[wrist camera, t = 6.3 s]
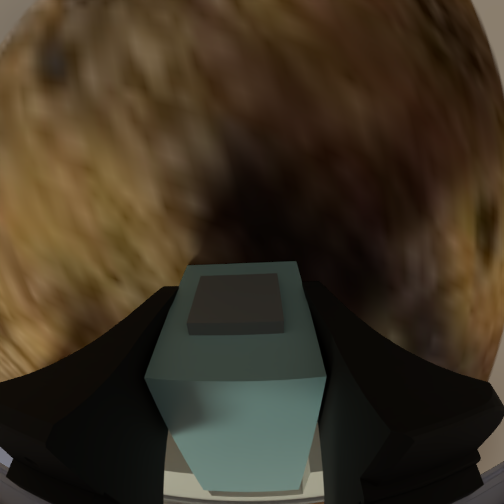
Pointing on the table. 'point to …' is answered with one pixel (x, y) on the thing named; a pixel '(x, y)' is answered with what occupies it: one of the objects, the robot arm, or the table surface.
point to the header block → (190, 491)
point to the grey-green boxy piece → (240, 375)
